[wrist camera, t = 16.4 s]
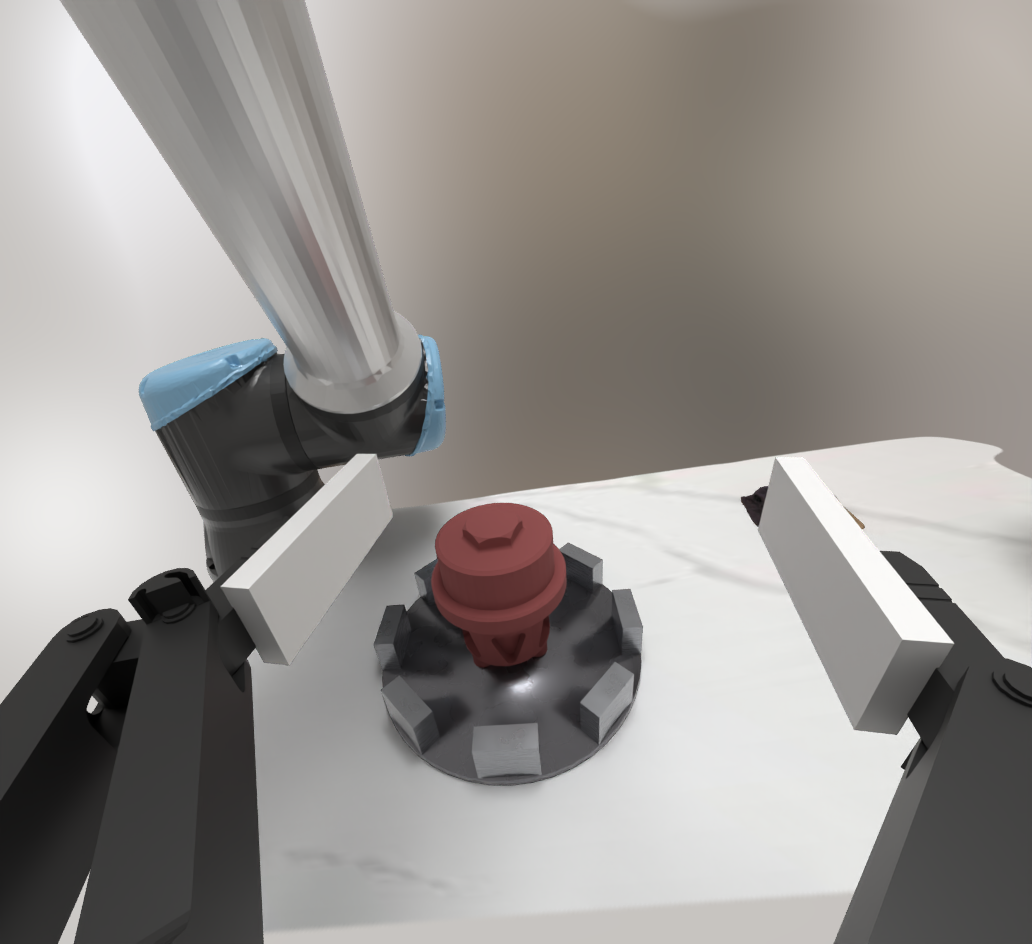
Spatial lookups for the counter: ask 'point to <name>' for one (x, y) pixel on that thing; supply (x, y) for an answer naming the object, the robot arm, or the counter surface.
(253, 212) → the robot arm
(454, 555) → the mechanical component
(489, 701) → the castellated collar
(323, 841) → the counter surface
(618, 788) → the counter surface
